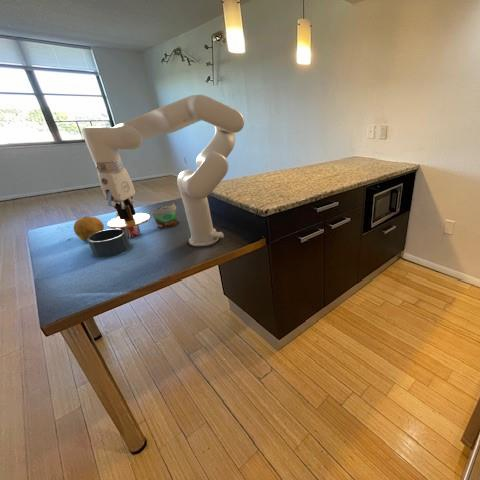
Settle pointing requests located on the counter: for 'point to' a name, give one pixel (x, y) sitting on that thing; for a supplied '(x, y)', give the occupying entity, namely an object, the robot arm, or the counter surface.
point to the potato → (87, 227)
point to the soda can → (131, 230)
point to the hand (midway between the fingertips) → (128, 216)
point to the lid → (132, 221)
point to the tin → (109, 242)
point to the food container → (165, 216)
